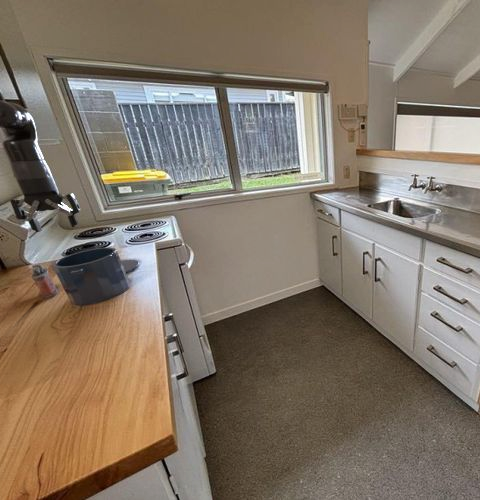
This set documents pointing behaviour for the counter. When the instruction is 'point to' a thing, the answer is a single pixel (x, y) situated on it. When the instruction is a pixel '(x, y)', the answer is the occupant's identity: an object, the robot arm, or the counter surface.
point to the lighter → (44, 282)
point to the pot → (92, 276)
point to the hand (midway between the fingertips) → (57, 229)
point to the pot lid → (129, 265)
